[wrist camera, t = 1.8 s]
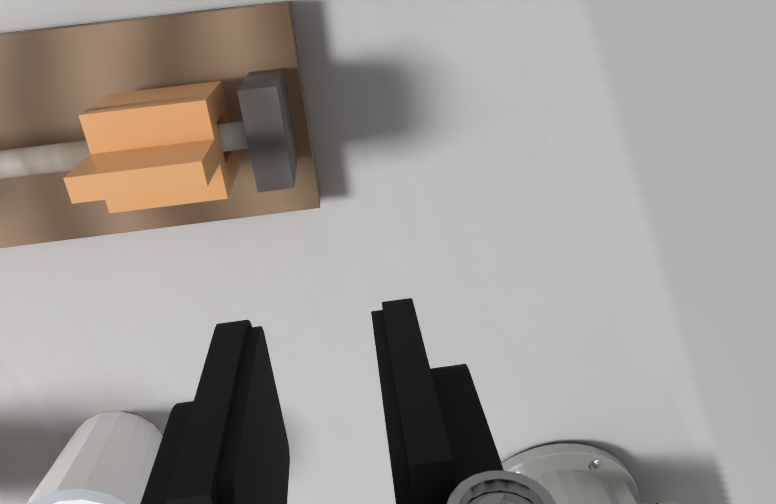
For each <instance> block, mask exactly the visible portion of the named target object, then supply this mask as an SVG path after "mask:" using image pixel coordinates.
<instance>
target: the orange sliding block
mask: <svg viewBox="0 0 776 504" xmlns="http://www.w3.org/2000/svg"><path fill="white" fill-rule="evenodd" d="M79 119H80V122H81V125H82V128H83V131H84V134H85V138H86V141H87V144H88V147H89V150H90V153H91V155H89V156H88V157H87V158H86V159H85V160H84V161H82V162H81V163H80V164H79V165H78V166H77V167H75V168H74V169H73V170H72V171H71V172H70V173H69V174H67V175H66V176H65V177H64V178H63V179H64V182H65V185H66V188H67V191H68V194H69V197H70V200H71V203H72V204H74V203H82V202H90V201H98V200H105V201H106V204H107V207H108V210H109V213H117V212H125V211H133V210H141V209H149V208H157V207H165V206H173V205H181V204H189V203H197V202H205V201H213V200H221V199H228V197H229V194H230V192H231V189H232V186H233V184H234V181H235V179H236V176H237V174H238V171H239V169H240V168H239V163H238V158H237V154H236V150H233V151H225V152H223V149H222V144H221V139H220V135H219V130H218V126H217V124H226V123H230V120H229V116H228V111H227V106H226V101H225V97H224V92H223V87H222V83H221V81H215V82H207V83H198V84H190V85H181V86H173V87H164V88H156V89H147V90H139V91H130V92H122V93H113V94H110V95H108V96H107V97H105V98H104V99H102V100H101V101H99V102H98V103H96V104H95V105H93V106H92V107H90V108H89V109H87V110H86V111H84V112H83V113H81V114H80V115H79Z"/></svg>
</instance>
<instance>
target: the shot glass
mask: <svg viewBox="0 0 776 504" xmlns="http://www.w3.org/2000/svg"><path fill="white" fill-rule="evenodd" d="M162 437H163V436H162V434H161V433H160V432H159V430H158V429H157V428H156V427H155V425H154V424H152V423H151V422H149V421H147V420H146V419H144V418H142V417H141V416H139V415H135V414H131V413H126V412H122V411H116V412H102V413H100V414H97V415H95V416H93V417H90V418H88V419H86V420H85V422H84V423H83V424H82V425H81V426H80V427H79V428H78V429H77V430H76V431H75V433H74V434H73V436H72V437H71V439H70V440H69V442H68V443H67V445H66V446H65V448H64V449H63V451H62V452H61V453H60V455H59V456H58V458H57V459H56V461H55V462H54V464H53V465H52V467H51V468H50V470H49V471H48V473H47V474H46V475H45V477H44V478H43V480H42V481H41V483H40V484H39V486H38V487H37V489H36V490H35V492H34V493H33V495H32V496H31V497H30V499H29V500H28V502H27V503H26V504H140V503H141V500H142V497H143V494H144V491H145V488H146V485H147V482H148V479H149V476H150V473H151V470H152V467H153V464H154V461H155V458H156V455H157V452H158V449H159V446H160V443H161V440H162Z"/></svg>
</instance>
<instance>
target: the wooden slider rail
mask: <svg viewBox="0 0 776 504" xmlns="http://www.w3.org/2000/svg"><path fill="white" fill-rule="evenodd" d="M215 81H221V83H222V87H223V92H224V97H225V101H226V106H227V111H228V116H229V120H230V123H226V124H217V126H218V130H219V135H220V139H221V144H222V149H223V152H225V151H233V150H236V154H237V158H238V163H239V168H240V169H239V171H238V174H237V176H236V179H235V181H234V184H233V186H232V189H231V192H230V194H229V197H228V199H221V200H213V201H205V202H197V203H189V204H181V205H173V206H165V207H157V208H149V209H141V210H133V211H125V212H117V213H109V210H108V207H107V204H106V201H105V200H98V201H90V202H82V203H74V204H72V203H71V200H70V197H69V194H68V191H67V188H66V185H65V182H64V179H63V178H64V177H65V176H66V175H67V174H69V173H70V172H71V171H72V170H73V169H74V168H75V167H77V166H78V165H79V164H80V163H81V162H82V161H84V160H85V159H86V158H87V157H88V156H89V155H91V153H90V150H89V147H88V144H87V141H86V138H85V134H84V131H83V128H82V125H81V122H80V119H79V115H80V114H81V113H83V112H84V111H86V110H87V109H89V108H90V107H92V106H93V105H95V104H96V103H98V102H99V101H101V100H102V99H104V98H105V97H107V96H108V95H110V94H113V93H122V92H130V91H139V90H147V89H156V88H164V87H173V86H181V85H190V84H198V83H207V82H215ZM314 208H320V193H319V187H318V181H317V174H316V168H315V161H314V155H313V149H312V142H311V136H310V129H309V123H308V116H307V110H306V104H305V97H304V91H303V84H302V78H301V71H300V65H299V59H298V52H297V46H296V39H295V33H294V27H293V20H292V14H291V7H290V1H284V2H275V3H266V4H257V5H248V6H239V7H230V8H222V9H213V10H204V11H195V12H186V13H177V14H168V15H159V16H151V17H142V18H133V19H124V20H115V21H106V22H97V23H88V24H80V25H71V26H62V27H53V28H44V29H35V30H26V31H17V32H9V33H0V248H5V247H13V246H21V245H28V244H36V243H44V242H52V241H60V240H68V239H76V238H84V237H92V236H100V235H108V234H116V233H124V232H132V231H139V230H147V229H155V228H163V227H171V226H179V225H187V224H195V223H203V222H211V221H219V220H227V219H235V218H243V217H251V216H258V215H266V214H274V213H282V212H290V211H298V210H306V209H314Z"/></svg>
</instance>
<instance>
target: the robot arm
mask: <svg viewBox="0 0 776 504" xmlns="http://www.w3.org/2000/svg"><path fill="white" fill-rule="evenodd" d="M382 308H383V310H379V311H372V312H371V314H372V321H373V329H374V337H375V345H376V352H377V360H378V368H379V376H380V383H381V391H382V399H383V407H384V415H385V422H386V430H387V438H388V445H389V453H390V461H391V468H392V476H393V484H394V491H395V499H396V504H643V503H642V502H640V500H639V491H638V489H637V486H636V483H635V481H634V479H633V478H632V476H631V474H630V473H629V471H628V469H627V468H626V467H625V466H624V465H623V464H622V462H621V461H620V460H619V459H618V458H616V457H614V456H613V455H611V454H610V453H608V452H606V451H604V450H601V449H599V448H596V447H593V446H588V445H582V444H569V443H560V444H553V445H546V446H541V447H537V448H534V449H530V450H527V451H524V452H522V453H520V454H518V455H516V456H513V457H511V458H509V459H508V460H506V461H505V462H503V463H501V461H500V458H499V455H498V452H497V449H496V446H495V444H494V441H493V438H492V435H491V432H490V429H489V426H488V423H487V420H486V418H485V415H484V412H483V409H482V406H481V403H480V400H479V397H478V395H477V392H476V389H475V386H474V383H473V380H472V377H471V374H470V372H469V369H468V367H467V365H466V364H461V365H454V366H447V367H439V368H432V369H430V367H429V363H428V359H427V355H426V351H425V347H424V343H423V339H422V335H421V331H420V327H419V324H418V320H417V316H416V312H415V308H414V304H413V300H412V298H409V299H401V300H394V301H386V302H382ZM289 464H290V456H289V445H288V440H287V435H286V430H285V426H284V421H283V417H282V412H281V408H280V403H279V399H278V394H277V389H276V385H275V380H274V376H273V371H272V367H271V362H270V357H269V353H268V348H267V344H266V339H265V335H264V331H263V328H262V327H261V326H259V327H252V325H251V323H250V321H249V320H243V321H236V322H228V323H220V324H217V325H216V327H215V330H214V333H213V337H212V340H211V344H210V347H209V351H208V354H207V357H206V361H205V364H204V368H203V371H202V375H201V378H200V382H199V385H198V388H197V392H196V395H195V399H194V401H192V402H184V403H177V404H176V405H175V406H174V407H173V409H172V411H171V413H170V416H169V419H168V422H167V425H166V428H165V431H164V434H163V437H162V440H161V443H160V446H159V449H158V452H157V455H156V458H155V461H154V464H153V467H152V470H151V473H150V476H149V479H148V482H147V485H146V488H145V491H144V494H143V497H142V500H141V503H140V504H287V494H288V479H289ZM656 504H679V503H678V502H677V501H676V500H672V501H665V502H658V503H656Z"/></svg>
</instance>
